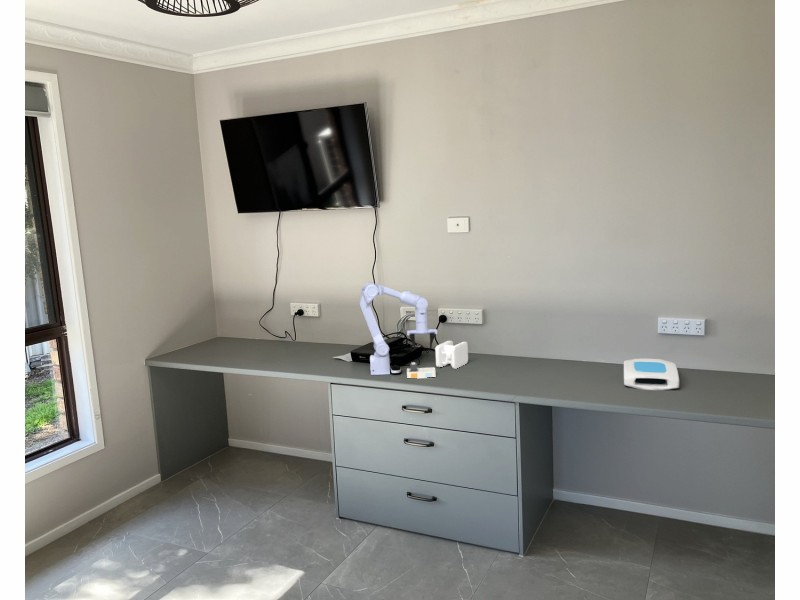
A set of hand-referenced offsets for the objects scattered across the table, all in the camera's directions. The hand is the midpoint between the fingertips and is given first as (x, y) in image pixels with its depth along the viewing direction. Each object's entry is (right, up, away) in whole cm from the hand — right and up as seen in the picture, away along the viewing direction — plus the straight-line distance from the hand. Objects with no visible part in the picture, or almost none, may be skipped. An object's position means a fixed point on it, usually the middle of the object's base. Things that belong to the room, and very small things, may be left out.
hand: (422, 348), depth 306 cm
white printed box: (-1, -12, -11) cm, 16 cm away
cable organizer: (+15, -9, +3) cm, 17 cm away
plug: (-4, -12, -11) cm, 17 cm away
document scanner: (+97, -11, -35) cm, 103 cm away
